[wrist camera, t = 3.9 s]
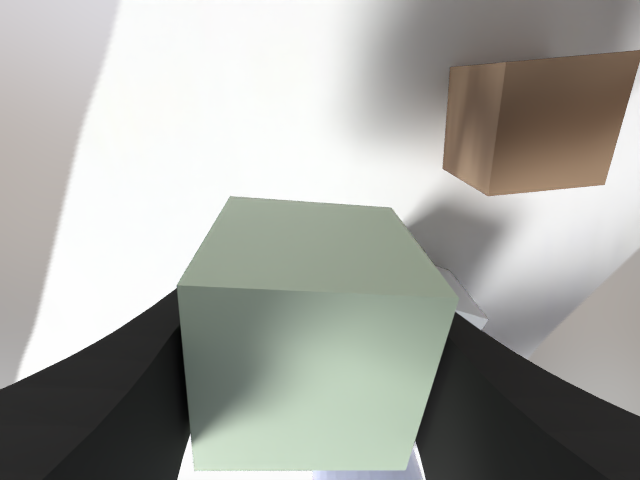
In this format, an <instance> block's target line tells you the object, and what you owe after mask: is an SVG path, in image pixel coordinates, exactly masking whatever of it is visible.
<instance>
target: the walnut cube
mask: <svg viewBox="0 0 640 480" xmlns="http://www.w3.org/2000/svg"><path fill="white" fill-rule="evenodd" d="M639 62H640V50H637V51H625V52H614V53H603V54H591V55H580V56H569V57H557V58H546V59H535V60H524V61H513V62H502V63H491V64H480V65H469V66H458V67H450V75H449V89H448V102H447V116H446V129H445V143H444V157H443V169H444V170H446V171H447V172H449V173H451V174H452V175H454V176H455V177H457V178H459V179H460V180H462V181H464V182H465V183H467V184H469V185H470V186H472V187H474V188H475V189H477V190H479V191H480V192H482V193H483V194H485V195H487V196H495V195H506V194H516V193H526V192H536V191H546V190H556V189H567V188H577V187H587V186H597V185H605V181H606V178H607V174H608V171H609V167H610V164H611V160H612V157H613V153H614V150H615V146H616V143H617V139H618V136H619V132H620V129H621V125H622V122H623V118H624V115H625V111H626V108H627V104H628V101H629V97H630V94H631V90H632V87H633V83H634V80H635V76H636V73H637V69H638V66H639Z"/></svg>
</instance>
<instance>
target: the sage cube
mask: <svg viewBox="0 0 640 480" xmlns="http://www.w3.org/2000/svg"><path fill="white" fill-rule="evenodd" d="M177 294H178V304H179V315H180V325H181V336H182V346H183V357H184V368H185V378H186V389H187V399H188V410H189V420H190V431H191V442H192V452H193V463H194V471H336V470H406V468H407V465H408V461H409V458H410V455H411V452H412V448H413V445H414V442H415V439H416V436H417V432H418V429H419V426H420V423H421V420H422V416H423V413H424V410H425V407H426V404H427V400H428V397H429V394H430V391H431V388H432V384H433V381H434V378H435V375H436V372H437V368H438V365H439V362H440V359H441V355H442V352H443V349H444V346H445V343H446V339H447V336H448V333H449V330H450V327H451V323H452V320H453V317H454V314H455V311H456V307H457V304H458V301H459V297H458V296H457V295H456V293H455V292H454V291H453V289H452V288H451V287H450V285H449V284H448V283H447V281H446V280H445V279H444V277H443V276H442V275H441V273H440V272H439V271H438V269H437V268H436V267H435V265H434V264H433V263H432V261H431V260H430V259H429V257H428V256H427V255H426V253H425V252H424V251H423V249H422V248H421V247H420V245H419V244H418V243H417V241H416V240H415V239H414V237H413V236H412V235H411V233H410V232H409V231H408V229H407V228H406V227H405V225H404V224H403V223H402V221H401V220H400V219H399V217H398V216H397V215H396V213H395V212H394V211H393V209H392V208H389V207H375V206H360V205H346V204H332V203H318V202H304V201H289V200H275V199H261V198H247V197H233V196H230V197H229V199H228V201H227V202H226V204H225V206H224V207H223V209H222V211H221V212H220V214H219V216H218V217H217V219H216V221H215V222H214V224H213V226H212V227H211V229H210V231H209V232H208V234H207V236H206V237H205V239H204V241H203V242H202V244H201V246H200V247H199V249H198V251H197V252H196V254H195V256H194V257H193V259H192V261H191V262H190V264H189V266H188V267H187V269H186V271H185V272H184V274H183V276H182V277H181V279H180V281H179V282H178V284H177Z"/></svg>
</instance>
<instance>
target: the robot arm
mask: <svg viewBox="0 0 640 480" xmlns="http://www.w3.org/2000/svg"><path fill="white" fill-rule="evenodd" d="M190 433H191V431H190V420H189V410H188V399H187V389H186V378H185V368H184V357H183V346H182V336H181V325H180V315H179V304H178V294H177V288H176V289H175V290H174V291H172V292H171V293H170V294H168V295H167V296H166V297H164V298H163V299H161V300H160V301H159V302H157V303H156V304H155V305H153V306H152V307H151V308H149V309H148V310H146V311H145V312H143V313H142V314H140V315H139V316H137V317H136V318H134V319H133V320H131V321H130V322H128V323H127V324H125V325H124V326H122V327H121V328H119V329H117V330H116V331H114V332H113V333H111V334H109V335H108V336H106V337H104V338H103V339H101V340H99V341H97V342H96V343H94V344H92V345H90V346H88V347H87V348H85V349H83V350H81V351H79V352H78V353H76V354H74V355H72V356H70V357H68V358H66V359H64V360H62V361H60V362H58V363H56V364H54V365H52V366H50V367H47V368H45V369H43V370H41V371H39V372H37V373H35V374H33V375H31V376H29V377H27V378H25V379H23V380H20V381H18V382H16V383H14V384H12V385H10V386H7V387H5V388H3V389H0V480H177V478H178V474H179V470H180V466H181V462H182V459H183V455H184V452H185V449H186V445H187V442H188V439H189V436H190ZM415 441H416V444H417V447H418V451H419V454H420V457H421V461H422V465H423V469H424V473H425V478H426V480H640V416H638V415H635V414H633V413H631V412H628V411H626V410H624V409H622V408H620V407H617V406H615V405H613V404H611V403H609V402H607V401H604V400H602V399H600V398H598V397H596V396H594V395H592V394H590V393H588V392H586V391H584V390H582V389H580V388H578V387H576V386H574V385H572V384H570V383H568V382H566V381H564V380H562V379H560V378H559V377H557V376H555V375H553V374H551V373H549V372H547V371H546V370H544V369H542V368H540V367H539V366H537V365H535V364H533V363H532V362H530V361H528V360H527V359H525V358H523V357H522V356H520V355H518V354H517V353H515V352H513V351H512V350H510V349H509V348H507V347H505V346H504V345H502V344H501V343H499V342H498V341H496V340H495V339H493V338H492V337H490V336H489V335H487V334H486V333H484V332H483V331H482V330H480V329H479V328H477V327H476V326H474V325H473V324H472V323H470V322H469V321H468V320H466V319H465V318H463V317H462V316H461V315H459V314H458V313H457V312H455V314H454V317H453V320H452V323H451V327H450V330H449V333H448V336H447V339H446V343H445V346H444V349H443V352H442V355H441V359H440V362H439V365H438V368H437V372H436V375H435V378H434V381H433V384H432V388H431V391H430V394H429V397H428V400H427V404H426V407H425V410H424V413H423V416H422V420H421V423H420V426H419V429H418V432H417V436H416V439H415ZM312 472H313V480H423V478H422V475H421V472H420V468H419V465H418V462H417V459H416V456H415V452H414V449H413V448H412V452H411V455H410V458H409V461H408V465H407V468H406V470H336V471H312Z"/></svg>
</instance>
